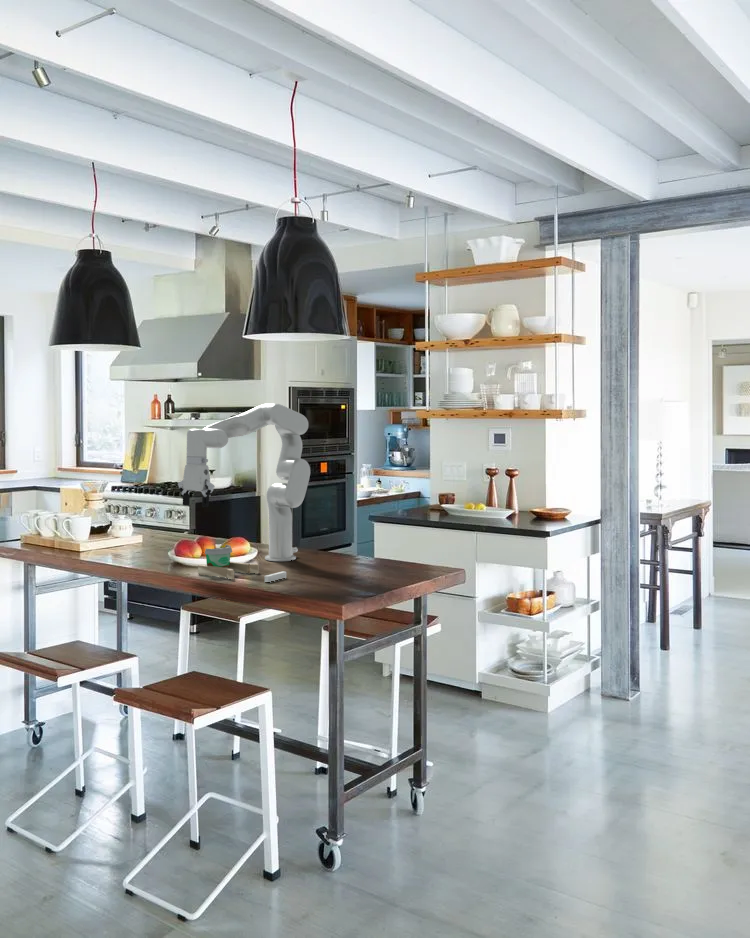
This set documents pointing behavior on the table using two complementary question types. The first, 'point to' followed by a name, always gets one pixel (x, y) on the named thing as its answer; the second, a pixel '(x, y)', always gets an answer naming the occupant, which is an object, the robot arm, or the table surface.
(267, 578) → the white notched bar
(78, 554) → the table surface
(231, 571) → the chute
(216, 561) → the food container
